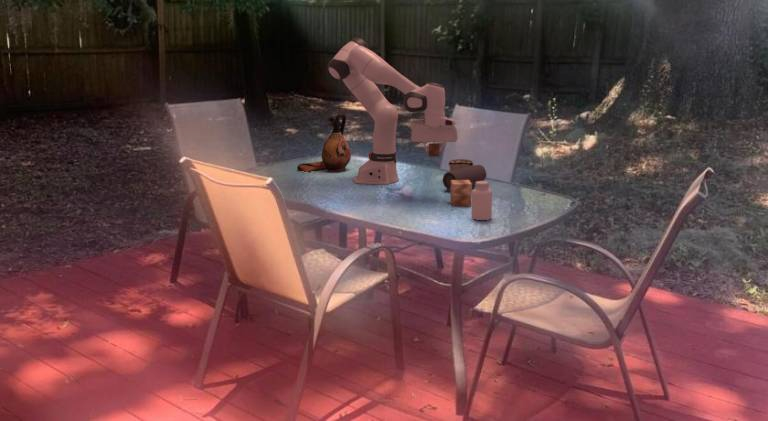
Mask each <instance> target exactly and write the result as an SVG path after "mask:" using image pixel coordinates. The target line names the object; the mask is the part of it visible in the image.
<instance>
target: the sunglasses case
mask: <svg viewBox="0 0 768 421" xmlns="http://www.w3.org/2000/svg"><path fill="white" fill-rule="evenodd" d="M296 169H297V171H298V170H300V171H304V172H309V173H312V172H311V171H314V172H320V171H325V170H327V167H326V166H325V164H324V163H323V161H322V160H321V161H314V162H313V161H312V162H308V163H307V162H306V163H305V162H303V163H299V164H298V165H297V168H296ZM319 170H320V171H319ZM300 171H299V172H300ZM304 172H303V173H304Z"/></svg>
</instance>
